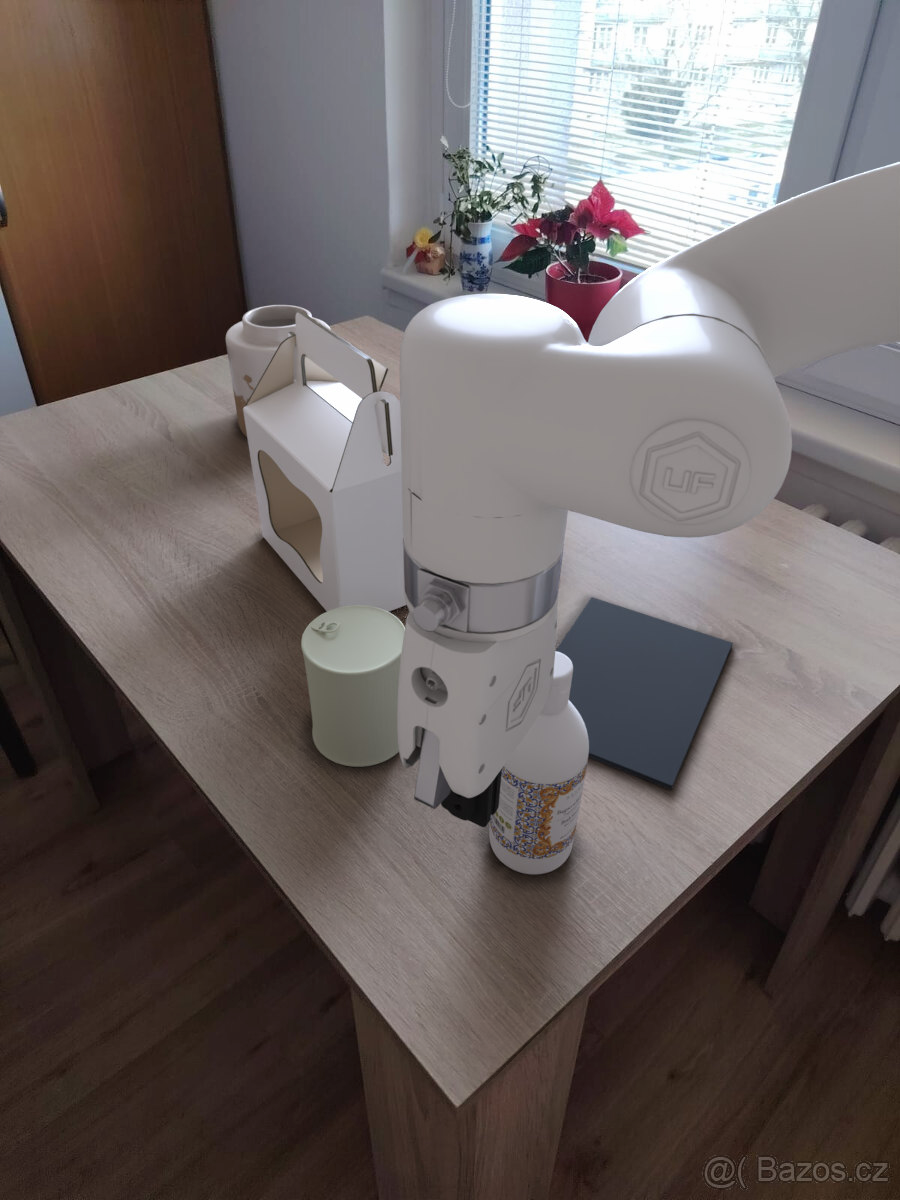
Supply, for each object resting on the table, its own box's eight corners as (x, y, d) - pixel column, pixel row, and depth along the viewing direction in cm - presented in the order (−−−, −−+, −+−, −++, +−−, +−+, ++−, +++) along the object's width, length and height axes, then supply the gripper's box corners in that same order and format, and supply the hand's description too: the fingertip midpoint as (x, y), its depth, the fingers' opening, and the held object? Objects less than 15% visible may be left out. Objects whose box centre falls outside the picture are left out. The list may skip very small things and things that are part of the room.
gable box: (445, 592, 95) (448, 357, 78) (343, 632, 89) (321, 387, 72) (354, 505, 109) (339, 291, 92) (261, 535, 104) (226, 312, 86)
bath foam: (534, 894, 65) (558, 716, 52) (471, 839, 69) (480, 662, 56) (589, 842, 69) (624, 665, 56) (526, 793, 72) (546, 618, 60)
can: (341, 685, 83) (332, 590, 75) (426, 711, 80) (425, 615, 73) (294, 749, 76) (278, 652, 69) (384, 780, 73) (378, 682, 66)
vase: (288, 394, 136) (277, 291, 126) (359, 419, 130) (352, 312, 119) (218, 427, 127) (199, 318, 116) (290, 456, 120) (276, 343, 109)
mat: (671, 790, 73) (672, 786, 73) (507, 724, 79) (508, 720, 78) (731, 646, 88) (733, 642, 88) (591, 600, 94) (591, 596, 94)
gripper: (474, 691, 33) (461, 935, 44) (613, 519, 43) (574, 754, 55) (323, 628, 36) (348, 872, 47) (487, 481, 46) (475, 711, 58)
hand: (469, 808), depth 51 cm, fingers closed
